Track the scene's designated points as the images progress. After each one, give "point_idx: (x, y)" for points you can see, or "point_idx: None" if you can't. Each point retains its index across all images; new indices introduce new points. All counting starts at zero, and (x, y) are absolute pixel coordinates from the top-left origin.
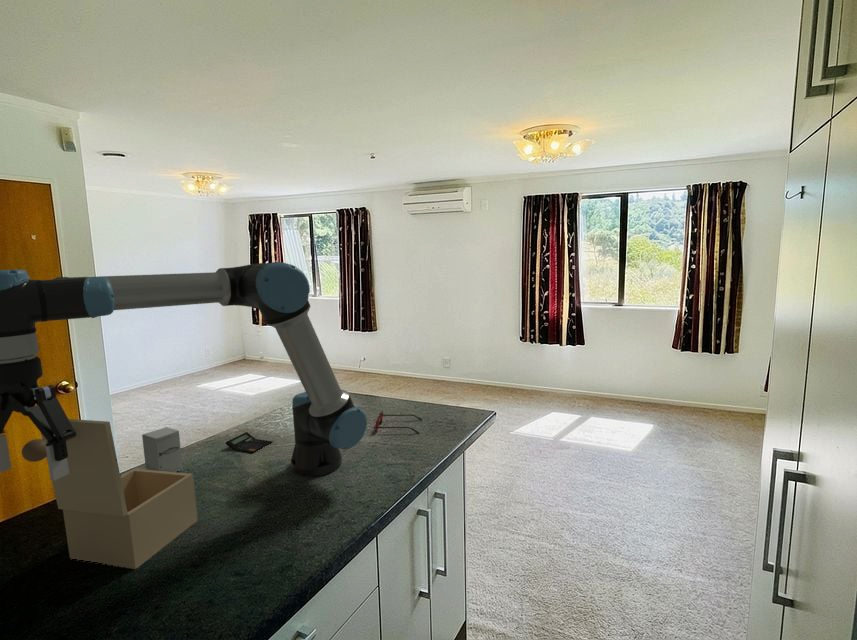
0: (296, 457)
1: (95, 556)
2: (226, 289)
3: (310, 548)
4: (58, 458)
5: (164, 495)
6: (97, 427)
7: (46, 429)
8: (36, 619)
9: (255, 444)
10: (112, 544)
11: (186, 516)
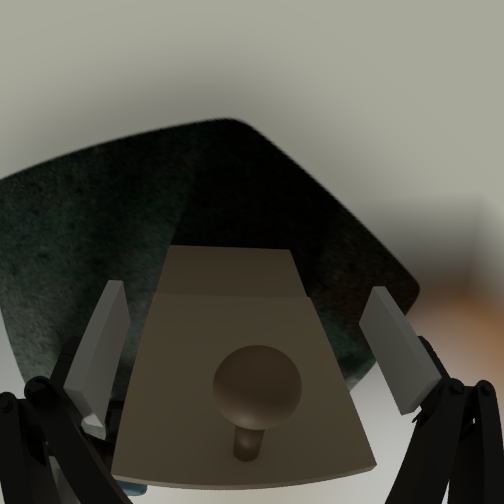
0: None
1: (241, 253)
2: None
3: (18, 299)
4: (70, 343)
5: None
6: (143, 467)
7: (56, 459)
8: (220, 140)
9: None
10: (203, 265)
11: None
